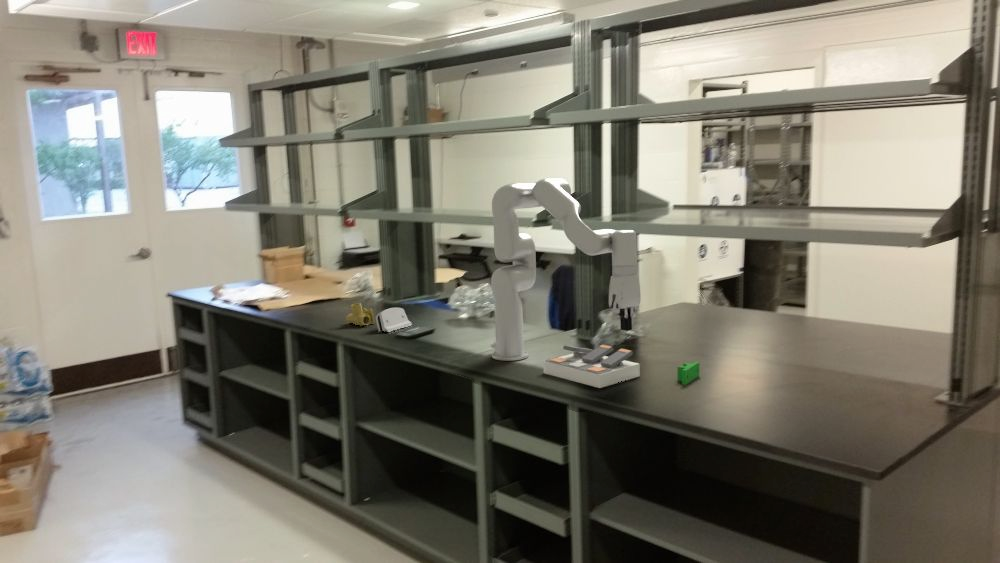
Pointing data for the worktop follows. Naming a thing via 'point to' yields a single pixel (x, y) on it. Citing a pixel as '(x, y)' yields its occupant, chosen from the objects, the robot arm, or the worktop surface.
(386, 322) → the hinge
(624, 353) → the rocker
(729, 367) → the worktop surface
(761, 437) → the worktop surface
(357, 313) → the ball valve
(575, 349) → the block
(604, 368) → the switch unit
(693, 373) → the pipe clamp
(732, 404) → the worktop surface
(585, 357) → the rocker
